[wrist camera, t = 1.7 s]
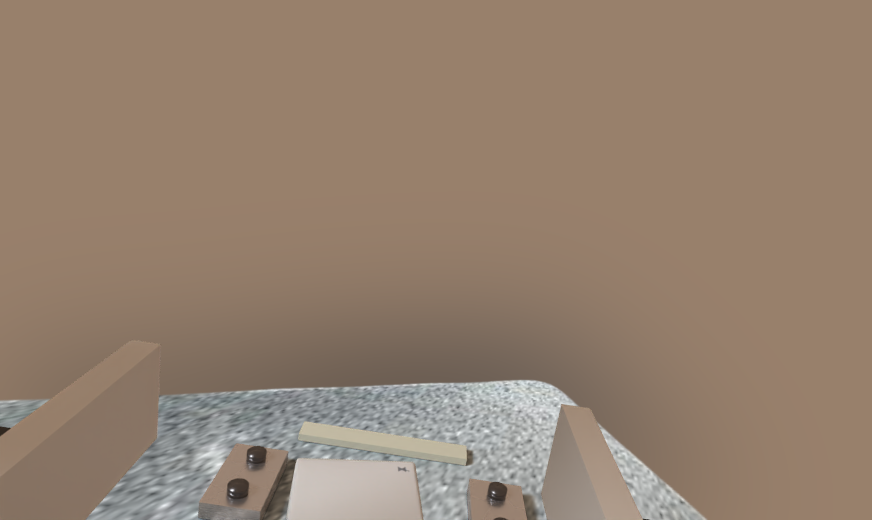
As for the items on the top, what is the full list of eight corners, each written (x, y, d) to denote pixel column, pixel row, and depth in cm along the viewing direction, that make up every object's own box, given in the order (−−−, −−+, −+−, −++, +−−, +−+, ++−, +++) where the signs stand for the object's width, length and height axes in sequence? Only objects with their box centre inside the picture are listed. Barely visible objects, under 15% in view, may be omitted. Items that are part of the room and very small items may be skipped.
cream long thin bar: (298, 440, 49) (298, 433, 49) (303, 427, 51) (304, 421, 51) (465, 465, 50) (466, 459, 49) (465, 452, 52) (466, 445, 51)
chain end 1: (198, 518, 39) (199, 494, 39) (235, 457, 46) (236, 436, 45) (259, 526, 39) (260, 503, 39) (287, 464, 46) (289, 444, 46)
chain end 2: (469, 558, 39) (474, 535, 39) (466, 492, 46) (470, 471, 46) (529, 567, 39) (535, 544, 39) (517, 499, 46) (522, 479, 46)
